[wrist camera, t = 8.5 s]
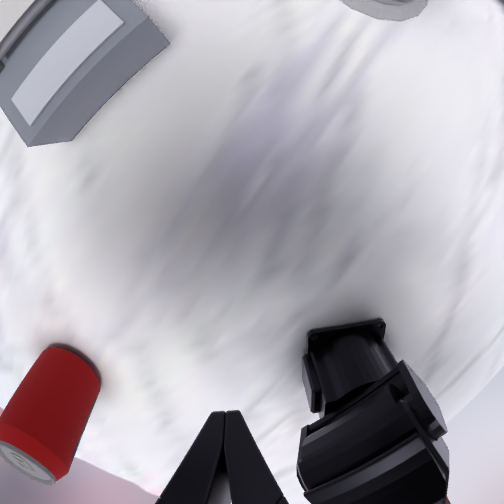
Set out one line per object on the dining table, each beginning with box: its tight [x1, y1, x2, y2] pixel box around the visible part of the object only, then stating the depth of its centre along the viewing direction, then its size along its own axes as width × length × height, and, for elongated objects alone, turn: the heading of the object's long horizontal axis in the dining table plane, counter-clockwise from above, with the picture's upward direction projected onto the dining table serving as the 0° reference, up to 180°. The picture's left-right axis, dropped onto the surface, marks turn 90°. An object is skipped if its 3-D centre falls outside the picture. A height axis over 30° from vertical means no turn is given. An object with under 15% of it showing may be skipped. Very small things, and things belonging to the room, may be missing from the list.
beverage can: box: [0, 348, 100, 486], centre depth 18 cm, size 7×7×12 cm
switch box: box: [0, 0, 170, 147], centre depth 12 cm, size 8×9×6 cm
